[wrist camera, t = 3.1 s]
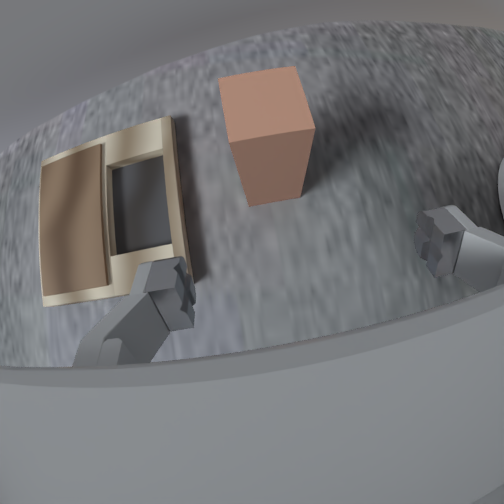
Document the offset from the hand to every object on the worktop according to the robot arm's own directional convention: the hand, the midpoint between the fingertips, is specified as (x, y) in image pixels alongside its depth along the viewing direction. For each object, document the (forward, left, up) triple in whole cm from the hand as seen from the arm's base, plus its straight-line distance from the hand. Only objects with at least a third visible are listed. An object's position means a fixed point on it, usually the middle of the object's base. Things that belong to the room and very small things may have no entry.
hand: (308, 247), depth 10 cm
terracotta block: (0, -9, -16) cm, 18 cm away
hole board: (+16, -9, -16) cm, 24 cm away
